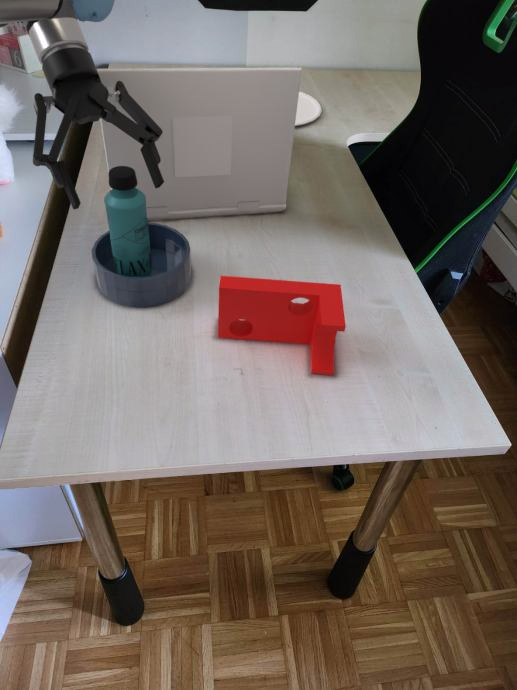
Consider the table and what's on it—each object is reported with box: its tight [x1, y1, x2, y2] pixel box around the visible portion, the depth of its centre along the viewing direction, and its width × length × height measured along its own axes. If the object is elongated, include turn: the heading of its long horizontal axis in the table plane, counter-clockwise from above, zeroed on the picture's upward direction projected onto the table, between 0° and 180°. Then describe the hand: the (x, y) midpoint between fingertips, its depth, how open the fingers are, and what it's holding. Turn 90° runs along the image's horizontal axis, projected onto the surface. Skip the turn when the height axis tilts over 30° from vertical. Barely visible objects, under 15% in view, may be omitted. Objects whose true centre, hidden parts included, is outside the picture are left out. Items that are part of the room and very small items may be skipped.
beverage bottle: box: [103, 166, 153, 277], centre depth 82 cm, size 6×7×20 cm
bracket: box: [217, 275, 347, 376], centre depth 78 cm, size 18×10×10 cm
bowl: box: [91, 222, 192, 308], centre depth 89 cm, size 16×16×6 cm
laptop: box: [96, 66, 303, 222], centre depth 104 cm, size 35×26×28 cm
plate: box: [295, 90, 323, 127], centre depth 147 cm, size 29×29×1 cm
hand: (120, 195), depth 80 cm, fingers open, 13 cm apart
